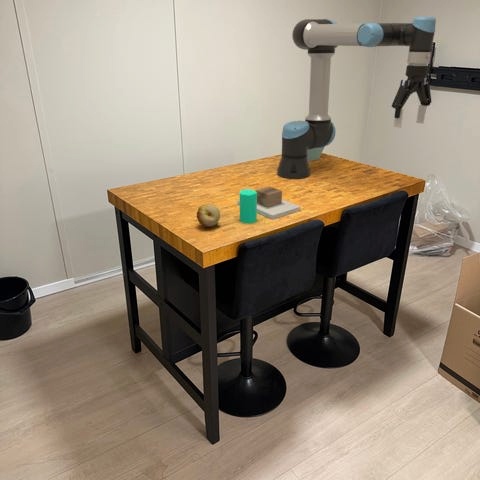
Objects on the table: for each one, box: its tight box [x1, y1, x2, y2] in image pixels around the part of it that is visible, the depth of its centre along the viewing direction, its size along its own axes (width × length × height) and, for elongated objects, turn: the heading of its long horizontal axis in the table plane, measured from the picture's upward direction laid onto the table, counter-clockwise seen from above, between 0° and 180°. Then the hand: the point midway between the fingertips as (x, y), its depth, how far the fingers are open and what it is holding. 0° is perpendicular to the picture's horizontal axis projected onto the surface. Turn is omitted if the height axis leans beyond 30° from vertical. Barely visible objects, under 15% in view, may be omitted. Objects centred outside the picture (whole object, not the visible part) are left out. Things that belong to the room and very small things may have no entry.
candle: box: [239, 187, 258, 224], centre depth 160 cm, size 6×6×12 cm
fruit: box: [196, 203, 221, 228], centre depth 156 cm, size 8×8×8 cm
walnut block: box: [254, 185, 283, 208], centre depth 172 cm, size 7×7×5 cm
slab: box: [236, 199, 302, 220], centre depth 174 cm, size 20×14×2 cm
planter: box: [307, 146, 326, 163], centre depth 235 cm, size 17×8×21 cm
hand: (408, 125), depth 173 cm, fingers open, 13 cm apart
